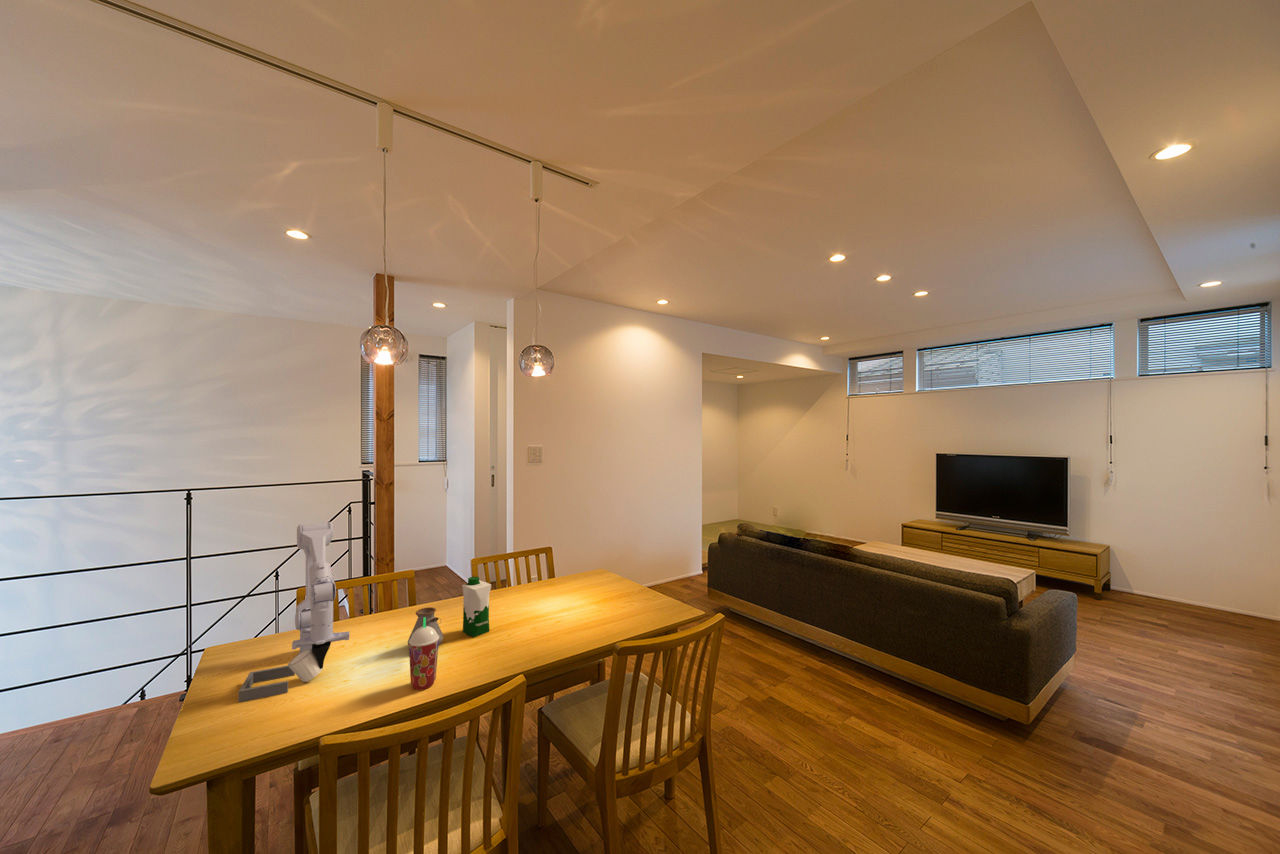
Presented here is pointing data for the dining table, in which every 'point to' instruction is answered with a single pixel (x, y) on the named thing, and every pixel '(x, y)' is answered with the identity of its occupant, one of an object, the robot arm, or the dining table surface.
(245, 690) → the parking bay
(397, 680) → the dining table surface
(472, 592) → the milk carton
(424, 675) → the smoothie
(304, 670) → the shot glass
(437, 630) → the coffee pot
